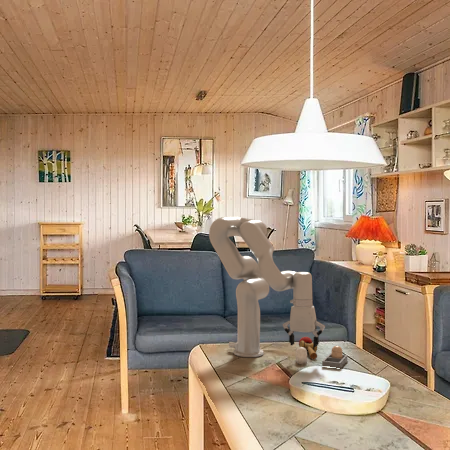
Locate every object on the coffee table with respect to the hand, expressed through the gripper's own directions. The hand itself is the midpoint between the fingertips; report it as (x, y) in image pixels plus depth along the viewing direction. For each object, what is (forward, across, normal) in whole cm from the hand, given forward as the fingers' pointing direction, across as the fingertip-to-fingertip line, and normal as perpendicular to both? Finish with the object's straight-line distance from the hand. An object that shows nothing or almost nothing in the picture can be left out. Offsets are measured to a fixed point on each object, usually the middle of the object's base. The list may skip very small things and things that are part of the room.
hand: (303, 345), depth 243 cm
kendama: (+7, -2, +15) cm, 17 cm away
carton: (+7, +12, +3) cm, 14 cm away
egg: (+7, -1, 0) cm, 7 cm away
